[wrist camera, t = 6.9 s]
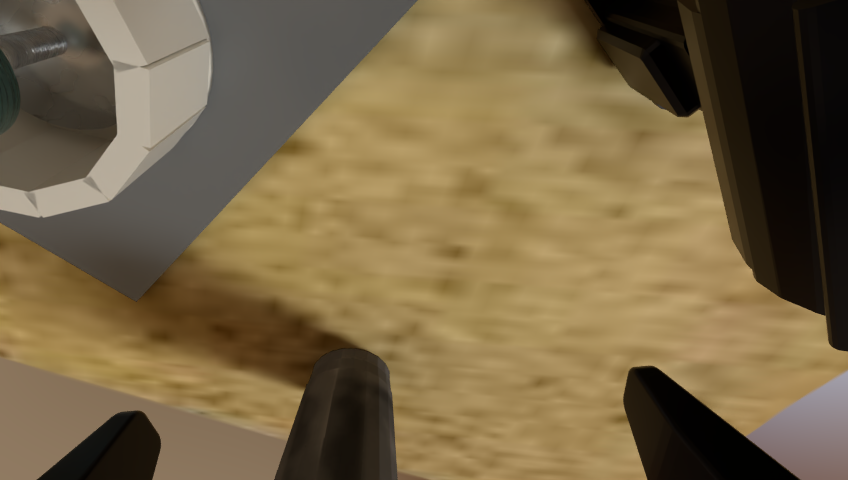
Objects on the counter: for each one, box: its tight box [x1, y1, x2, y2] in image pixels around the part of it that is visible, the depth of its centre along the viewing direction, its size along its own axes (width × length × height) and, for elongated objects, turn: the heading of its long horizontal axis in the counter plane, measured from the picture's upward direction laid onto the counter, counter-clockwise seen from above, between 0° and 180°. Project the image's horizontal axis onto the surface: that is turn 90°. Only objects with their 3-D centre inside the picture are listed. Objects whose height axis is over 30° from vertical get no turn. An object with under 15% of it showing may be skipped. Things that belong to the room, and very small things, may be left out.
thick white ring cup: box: [0, 0, 213, 218], centre depth 15 cm, size 11×9×5 cm
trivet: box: [0, 0, 417, 302], centre depth 17 cm, size 20×15×1 cm
